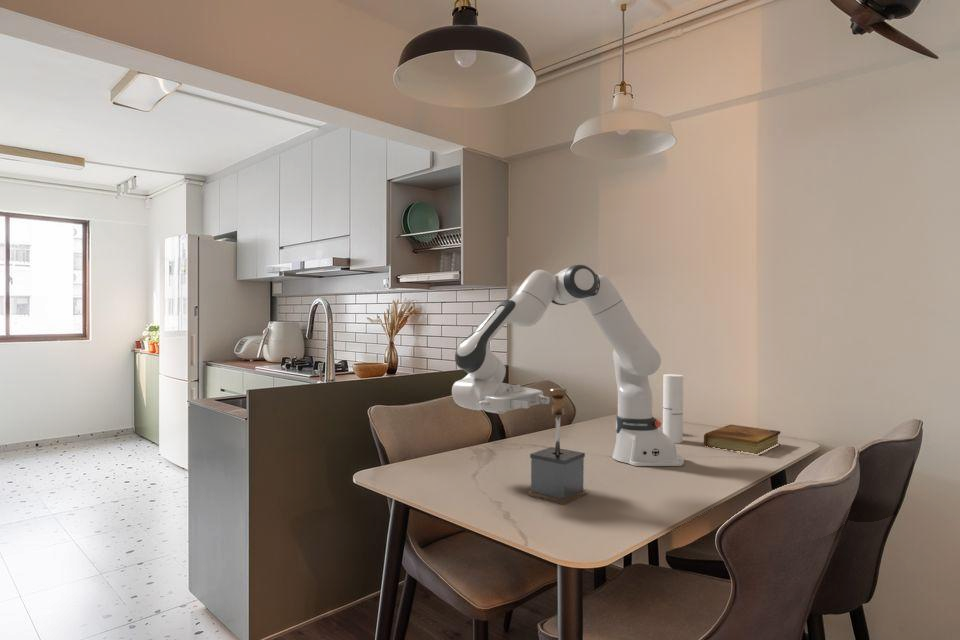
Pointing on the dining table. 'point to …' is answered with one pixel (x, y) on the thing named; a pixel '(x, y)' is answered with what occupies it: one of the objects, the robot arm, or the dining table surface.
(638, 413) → the robot arm
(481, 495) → the dining table surface
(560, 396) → the plunger
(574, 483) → the grey box
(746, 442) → the diary
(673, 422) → the cylindrical container
